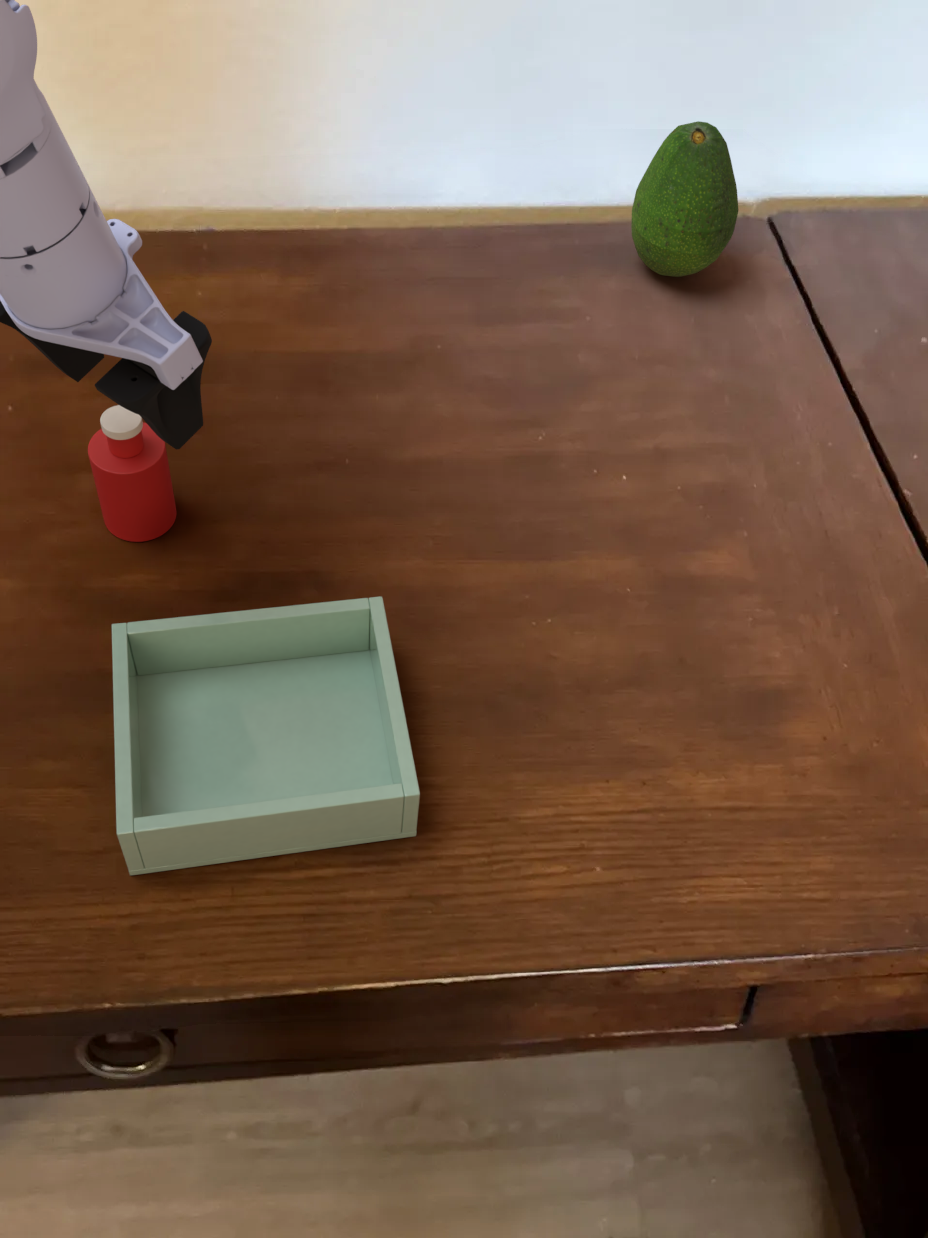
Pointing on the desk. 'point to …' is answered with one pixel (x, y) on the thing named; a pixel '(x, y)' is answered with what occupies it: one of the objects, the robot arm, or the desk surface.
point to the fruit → (685, 202)
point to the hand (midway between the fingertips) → (135, 399)
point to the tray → (259, 735)
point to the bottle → (132, 477)
